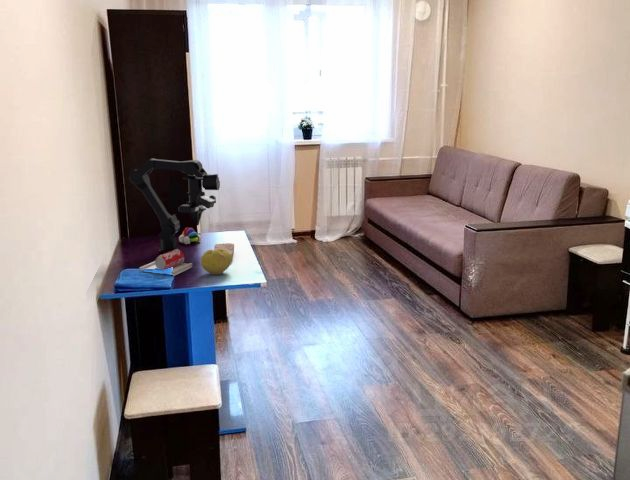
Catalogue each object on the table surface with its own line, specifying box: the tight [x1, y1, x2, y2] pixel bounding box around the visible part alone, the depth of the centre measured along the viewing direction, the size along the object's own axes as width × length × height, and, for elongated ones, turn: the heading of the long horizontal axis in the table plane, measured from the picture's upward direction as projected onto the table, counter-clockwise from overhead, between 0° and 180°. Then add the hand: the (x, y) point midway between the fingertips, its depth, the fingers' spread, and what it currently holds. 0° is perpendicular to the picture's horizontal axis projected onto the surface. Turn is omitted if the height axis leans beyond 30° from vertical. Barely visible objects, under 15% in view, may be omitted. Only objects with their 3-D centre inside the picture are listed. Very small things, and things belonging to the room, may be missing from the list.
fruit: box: [200, 249, 233, 276], centre depth 230 cm, size 11×12×10 cm
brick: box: [212, 242, 235, 264], centre depth 254 cm, size 17×8×5 cm, turn 5°
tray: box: [138, 260, 194, 277], centre depth 237 cm, size 16×13×2 cm
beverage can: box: [154, 248, 185, 270], centre depth 238 cm, size 6×6×12 cm
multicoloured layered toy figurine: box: [178, 227, 202, 245], centre depth 279 cm, size 8×10×7 cm
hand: (197, 225), depth 261 cm, fingers closed
